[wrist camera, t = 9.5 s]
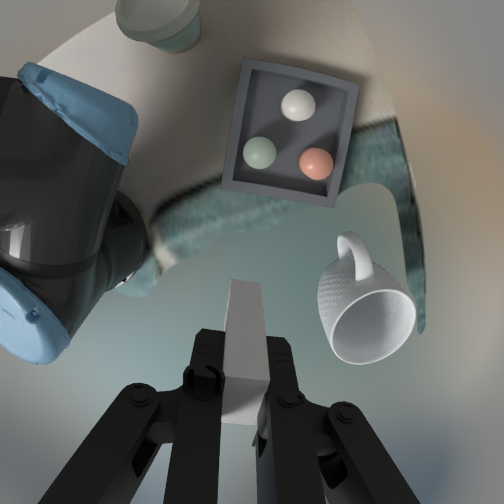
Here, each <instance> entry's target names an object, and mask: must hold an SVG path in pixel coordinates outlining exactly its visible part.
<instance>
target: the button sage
mask: <svg viewBox="0 0 504 504" xmlns="http://www.w3.org/2000/svg"><path fill="white" fill-rule="evenodd" d="M243 156H244V159H245V161H246V163H247V164H248V165H249V166H251V167H253V168H256V169H264V168H267V167H269V166H270V165H271V164H272V163H273V162H274V160H275V158H276V148H275V146H274V144H273V143H272V142H271V141H270V140H269V139H267V138H265V137H253V138H251V139H250V140H248V141H247V142H246V144H245V146H244V149H243Z"/></svg>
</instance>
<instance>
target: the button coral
mask: <svg viewBox="0 0 504 504" xmlns="http://www.w3.org/2000/svg"><path fill="white" fill-rule="evenodd" d="M297 163H298V167H299V169H300V170H301V171H302V172H303V173H304V174H305V175H307V176H308V177H310V178H312V179H315V180H321V179H324V178H326V177H327V176H329V174H330V173H331V172H332V169H333V160H332V157H331V155H330V154H329V153H328V152H327V151H325V150H323V149H319V148H315V147H308V148H305V149H304V150H302V151H301V152H300V154H299V156H298V160H297Z"/></svg>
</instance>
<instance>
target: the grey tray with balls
mask: <svg viewBox="0 0 504 504" xmlns="http://www.w3.org/2000/svg"><path fill="white" fill-rule="evenodd" d="M293 90H304V91H306V92H308V93H309V94H310V95H311V96H312V97H313V98H314V101H315V111H314V113H313V115H312V116H311V117H310V118H308V119H306V120H302V121H298V122H293V121H289V120H287V119H286V118H285V117H284V116H283V115H282V114H281V111H280V102H281V100H282V99H283V97H285V96H286V95H287V94H288V93H289V92H290V91H293ZM358 90H359V84H356V83H353V82H349V81H346V80H343V79H339V78H336V77H332V76H329V75H325V74H321V73H318V72H314V71H310V70H305V69H301V68H297V67H292V66H287V65H282V64H277V63H272V62H266V61H260V60H254V59H247V58H243V61H242V66H241V71H240V76H239V81H238V87H237V92H236V98H235V103H234V109H233V115H232V120H231V126H230V132H229V138H228V144H227V150H226V157H225V163H224V169H223V176H222V183H221V189H226V190H232V191H239V192H245V193H252V194H258V195H264V196H270V197H276V198H282V199H287V200H293V201H298V202H304V203H309V204H314V205H320V206H325V207H330V208H335V204H336V199H337V195H338V191H339V187H340V182H341V178H342V173H343V169H344V164H345V159H346V155H347V150H348V145H349V140H350V135H351V130H352V124H353V119H354V113H355V108H356V102H357V96H358ZM253 137H265V138H267V139H269V140H270V141H271V142H272V143H273V144H274V146H275V148H276V158H275V160H274V162H273V163H272V164H271V165H270V166H269V167H267V168H264V169H256V168H253V167H251V166H249V165H248V164H247V163H246V161H245V159H244V156H243V149H244V146H245V144H246V142H247V141H248V140H250V139H251V138H253ZM308 147H315V148H319V149H323V150H325V151H327V152H328V153H329V154H330V155H331V157H332V160H333V169H332V172H331V173H330V174H329V176H327V177H326V178H324V179H321V180H315V179H312V178H310V177H308V176H307V175H305V174H304V173H303V172H302V171H301V170H300V169H299V167H298V163H297V160H298V156H299V154H300V152H301V151H302V150H304V149H305V148H308Z"/></svg>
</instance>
